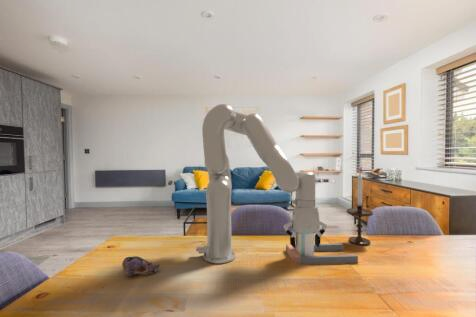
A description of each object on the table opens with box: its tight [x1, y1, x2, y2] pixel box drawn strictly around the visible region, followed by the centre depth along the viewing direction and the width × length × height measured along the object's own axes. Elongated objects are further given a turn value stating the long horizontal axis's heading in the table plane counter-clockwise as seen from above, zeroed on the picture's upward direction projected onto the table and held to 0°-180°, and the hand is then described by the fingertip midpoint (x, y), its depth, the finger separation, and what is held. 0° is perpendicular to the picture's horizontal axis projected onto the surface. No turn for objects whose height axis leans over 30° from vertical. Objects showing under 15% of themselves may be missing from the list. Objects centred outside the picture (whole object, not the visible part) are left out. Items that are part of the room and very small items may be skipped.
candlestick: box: [346, 166, 374, 247], centre depth 114 cm, size 11×11×35 cm
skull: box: [121, 255, 160, 276], centre depth 86 cm, size 12×8×6 cm, turn 95°
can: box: [295, 229, 315, 256], centre depth 98 cm, size 7×7×12 cm
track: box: [285, 242, 359, 266], centre depth 99 cm, size 24×13×3 cm, turn 93°
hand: (305, 246), depth 98 cm, fingers open, 9 cm apart
